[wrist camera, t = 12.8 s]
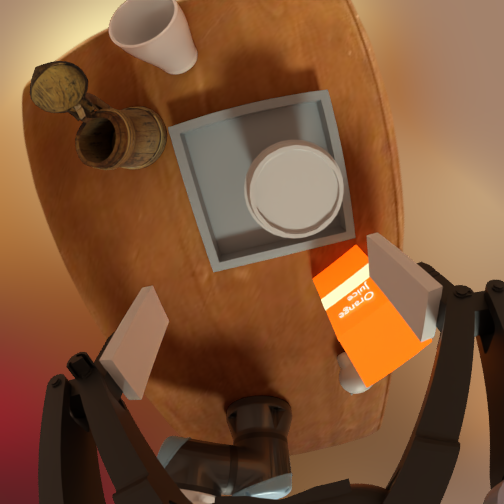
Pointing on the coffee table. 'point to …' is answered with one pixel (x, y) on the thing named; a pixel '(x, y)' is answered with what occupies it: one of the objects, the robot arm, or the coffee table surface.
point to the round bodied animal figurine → (350, 375)
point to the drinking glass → (154, 34)
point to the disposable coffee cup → (294, 189)
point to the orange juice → (365, 318)
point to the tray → (236, 167)
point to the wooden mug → (99, 120)
